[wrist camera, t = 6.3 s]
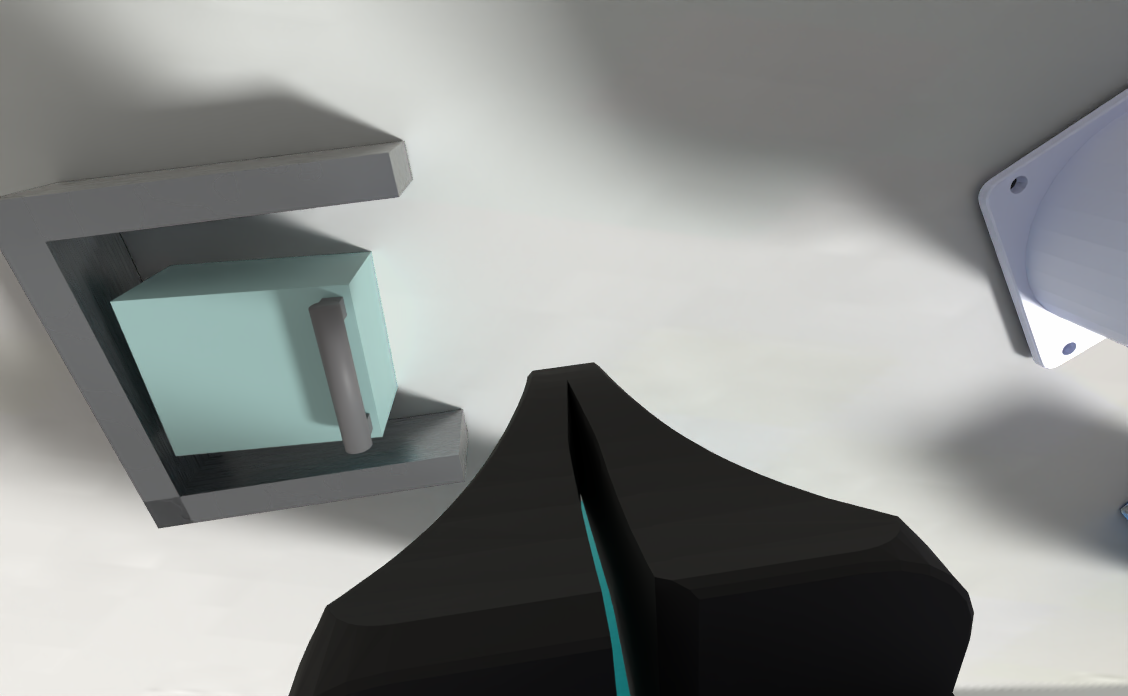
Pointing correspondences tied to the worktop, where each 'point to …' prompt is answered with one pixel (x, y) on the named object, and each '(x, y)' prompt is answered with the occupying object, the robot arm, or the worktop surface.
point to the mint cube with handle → (263, 352)
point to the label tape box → (1125, 511)
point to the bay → (108, 369)
